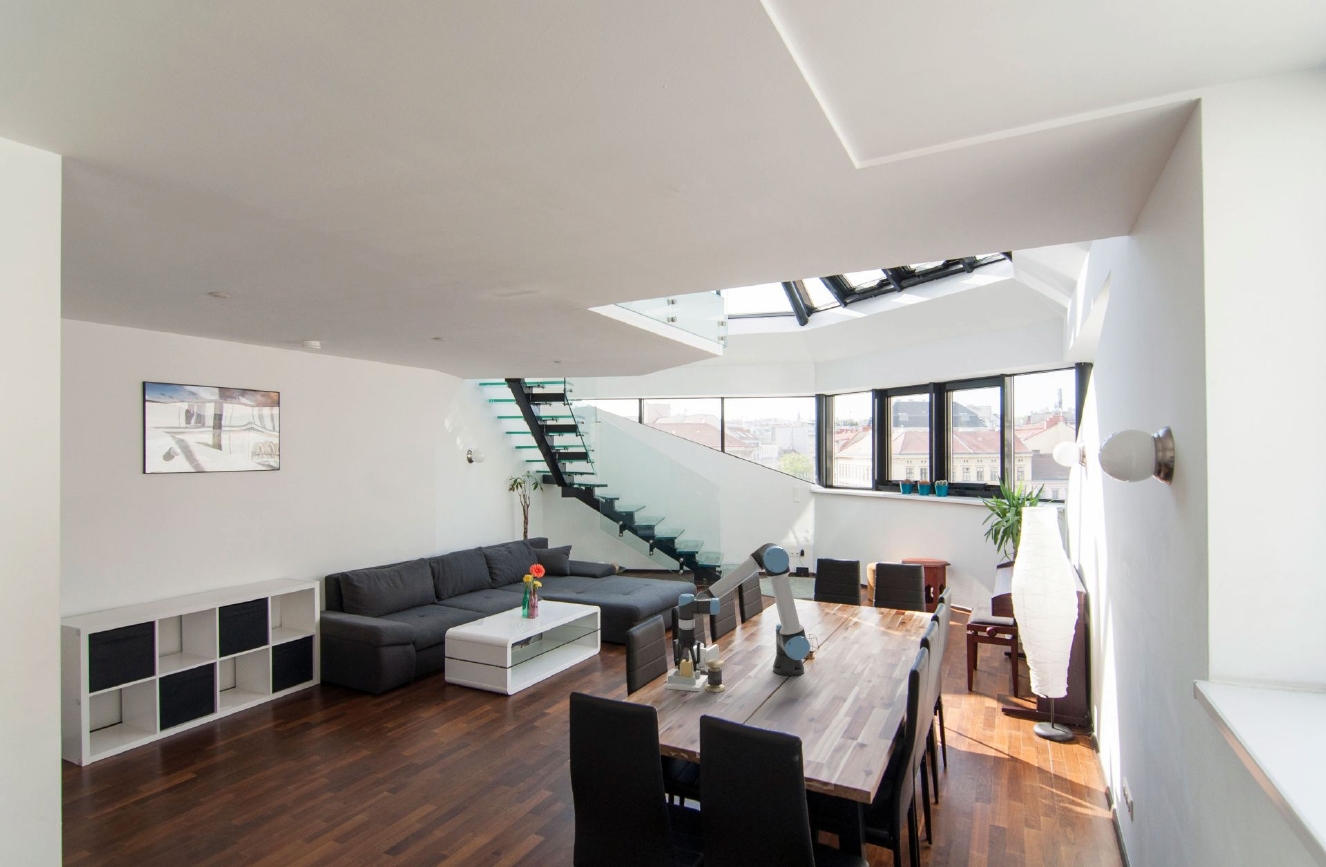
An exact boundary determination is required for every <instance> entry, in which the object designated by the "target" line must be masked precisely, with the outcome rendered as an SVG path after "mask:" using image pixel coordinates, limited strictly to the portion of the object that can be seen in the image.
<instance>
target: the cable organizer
mask: <svg viewBox="0 0 1326 867" xmlns="http://www.w3.org/2000/svg"><path fill="white" fill-rule="evenodd" d="M719 646H720V645H719V644H718V643H717V644H715V643H714V644H713V645H711V646H710V647H709V648H707V647H706V648H705V644H704V643H703V642H701V645H700V657H701V662H700V663H699V664H697V670H699V669H700V668H703V670H705V672H706V673H708V669H710V667H707V666H705V661H707V660H712V659H716V660H720V649H719ZM693 648H694V653H695V657H696V661H697V646H696V644H694V645H693ZM688 657H689V660H692V657H691V653H690V650H689V649H688Z"/></svg>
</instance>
